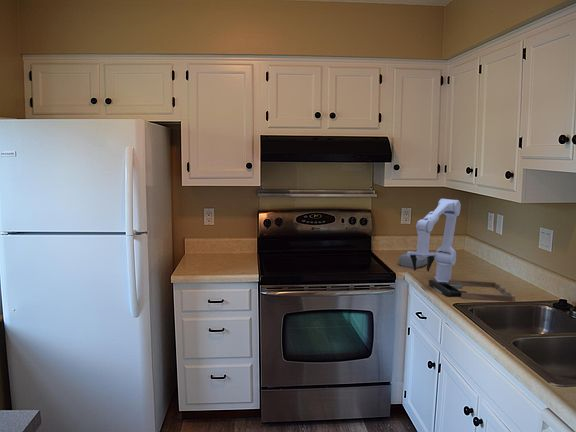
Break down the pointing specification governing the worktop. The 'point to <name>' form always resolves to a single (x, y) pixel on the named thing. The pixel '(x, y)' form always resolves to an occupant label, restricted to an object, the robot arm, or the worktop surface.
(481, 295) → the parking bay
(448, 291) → the door handle
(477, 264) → the worktop surface
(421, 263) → the grey rounded bag
